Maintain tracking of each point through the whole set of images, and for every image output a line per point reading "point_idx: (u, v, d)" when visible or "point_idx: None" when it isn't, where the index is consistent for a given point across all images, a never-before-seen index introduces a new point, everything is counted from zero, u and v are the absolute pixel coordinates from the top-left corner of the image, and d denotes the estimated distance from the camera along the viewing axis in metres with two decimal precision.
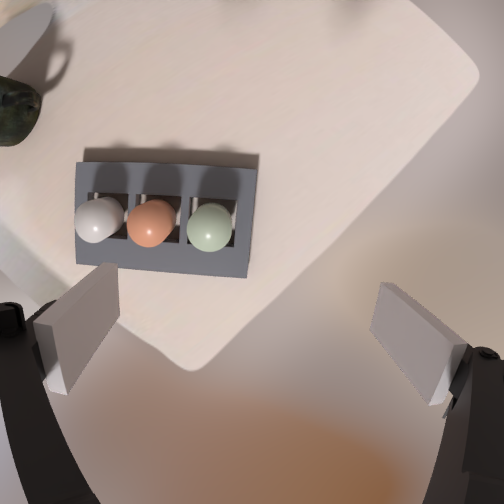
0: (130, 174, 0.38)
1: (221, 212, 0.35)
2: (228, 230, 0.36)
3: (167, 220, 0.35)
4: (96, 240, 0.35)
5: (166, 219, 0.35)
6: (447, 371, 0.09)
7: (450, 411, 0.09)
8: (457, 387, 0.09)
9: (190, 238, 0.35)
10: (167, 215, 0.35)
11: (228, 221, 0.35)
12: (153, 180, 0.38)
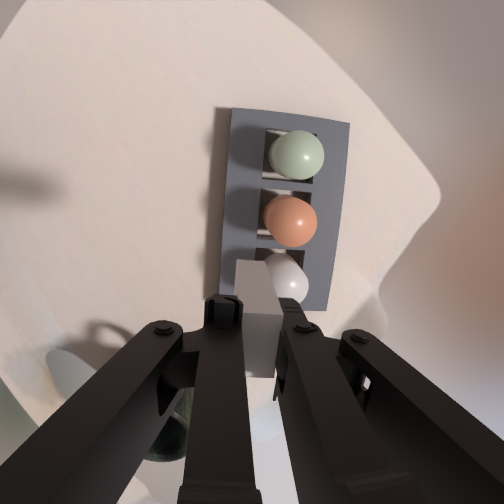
0: (235, 245, 0.38)
1: (281, 140, 0.30)
2: (301, 133, 0.30)
3: (289, 200, 0.32)
4: (306, 283, 0.35)
5: (287, 201, 0.32)
6: (265, 342, 0.11)
7: (280, 395, 0.10)
8: (278, 368, 0.10)
9: (309, 175, 0.32)
10: (283, 200, 0.33)
11: (291, 133, 0.30)
12: (242, 219, 0.37)
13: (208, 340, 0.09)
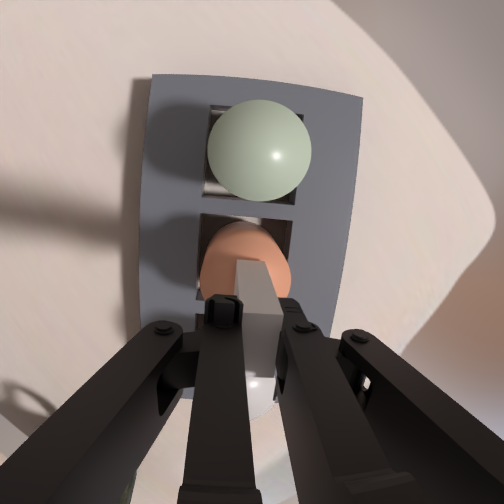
0: (160, 308, 0.22)
1: (220, 121, 0.14)
2: (262, 106, 0.14)
3: (236, 239, 0.17)
4: (272, 388, 0.18)
5: (233, 241, 0.17)
6: (265, 342, 0.11)
7: (280, 395, 0.10)
8: (278, 368, 0.10)
9: (279, 193, 0.15)
10: (227, 238, 0.18)
11: (241, 106, 0.14)
12: (170, 267, 0.21)
13: (208, 340, 0.09)
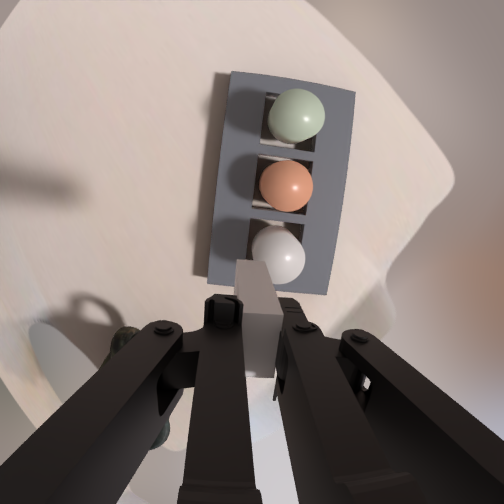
0: (228, 214, 0.35)
1: (278, 98, 0.27)
2: (300, 92, 0.27)
3: (283, 161, 0.30)
4: (302, 256, 0.31)
5: (282, 162, 0.30)
6: (265, 342, 0.11)
7: (280, 395, 0.10)
8: (278, 368, 0.10)
9: (308, 136, 0.28)
10: None
11: (289, 91, 0.27)
12: (237, 186, 0.34)
13: (208, 340, 0.09)
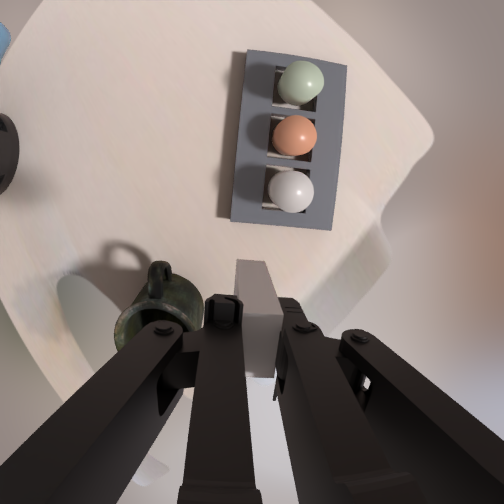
0: (247, 161, 0.41)
1: (288, 67, 0.34)
2: (304, 63, 0.34)
3: (292, 116, 0.37)
4: (311, 188, 0.38)
5: (291, 116, 0.37)
6: (265, 342, 0.11)
7: (280, 395, 0.10)
8: (278, 368, 0.10)
9: (311, 95, 0.35)
10: (288, 117, 0.37)
11: (296, 62, 0.34)
12: (254, 138, 0.40)
13: (208, 340, 0.09)
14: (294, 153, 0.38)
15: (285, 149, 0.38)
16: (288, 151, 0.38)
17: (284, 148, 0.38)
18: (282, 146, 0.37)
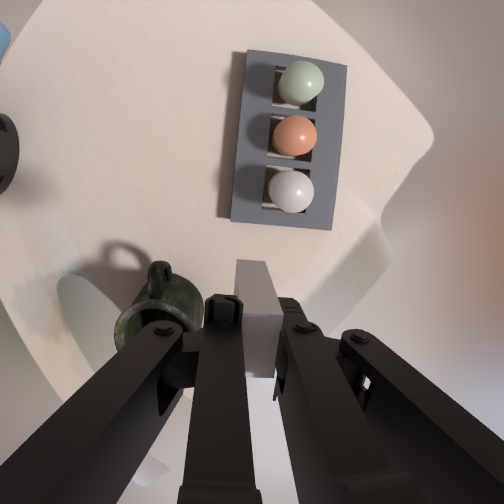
0: (247, 161, 0.41)
1: (288, 67, 0.34)
2: (304, 63, 0.34)
3: (292, 116, 0.37)
4: (311, 188, 0.38)
5: (291, 116, 0.37)
6: (265, 342, 0.11)
7: (280, 395, 0.10)
8: (278, 368, 0.10)
9: (311, 95, 0.35)
10: (288, 117, 0.37)
11: (296, 62, 0.34)
12: (254, 138, 0.40)
13: (208, 340, 0.09)
14: (294, 153, 0.38)
15: (285, 149, 0.38)
16: (288, 151, 0.38)
17: (284, 148, 0.38)
18: (282, 146, 0.37)
